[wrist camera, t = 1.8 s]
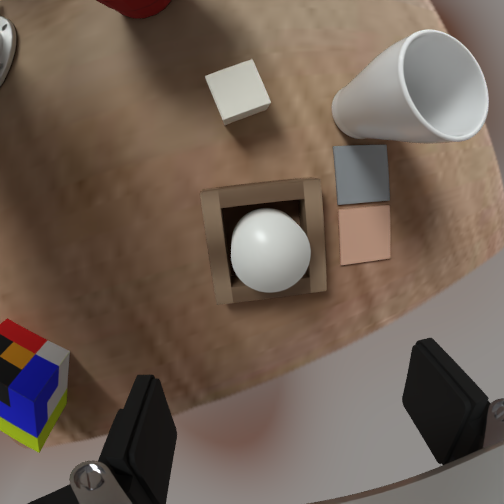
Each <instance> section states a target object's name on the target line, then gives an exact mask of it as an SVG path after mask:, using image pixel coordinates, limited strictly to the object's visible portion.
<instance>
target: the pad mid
mask: <svg viewBox="0 0 504 504" xmlns="http://www.w3.org/2000/svg"><path fill="white" fill-rule="evenodd" d="M333 154H334V165H335V177H336V191H337V204H338V205H342V204H353V203H364V202H376V201H388V200H390V193H389V173H388V158H387V146H386V145H355V146H333Z"/></svg>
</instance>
